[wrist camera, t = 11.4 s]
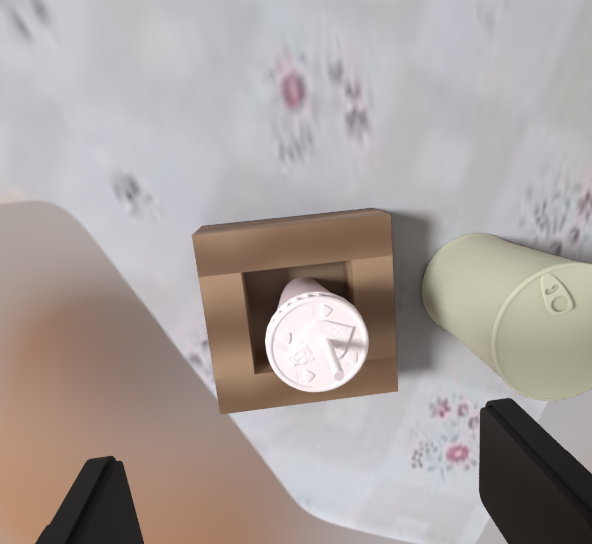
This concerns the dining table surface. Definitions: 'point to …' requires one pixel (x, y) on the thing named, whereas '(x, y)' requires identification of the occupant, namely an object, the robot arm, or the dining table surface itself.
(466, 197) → the dining table surface
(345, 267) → the socket block
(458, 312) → the can
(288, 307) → the smoothie
